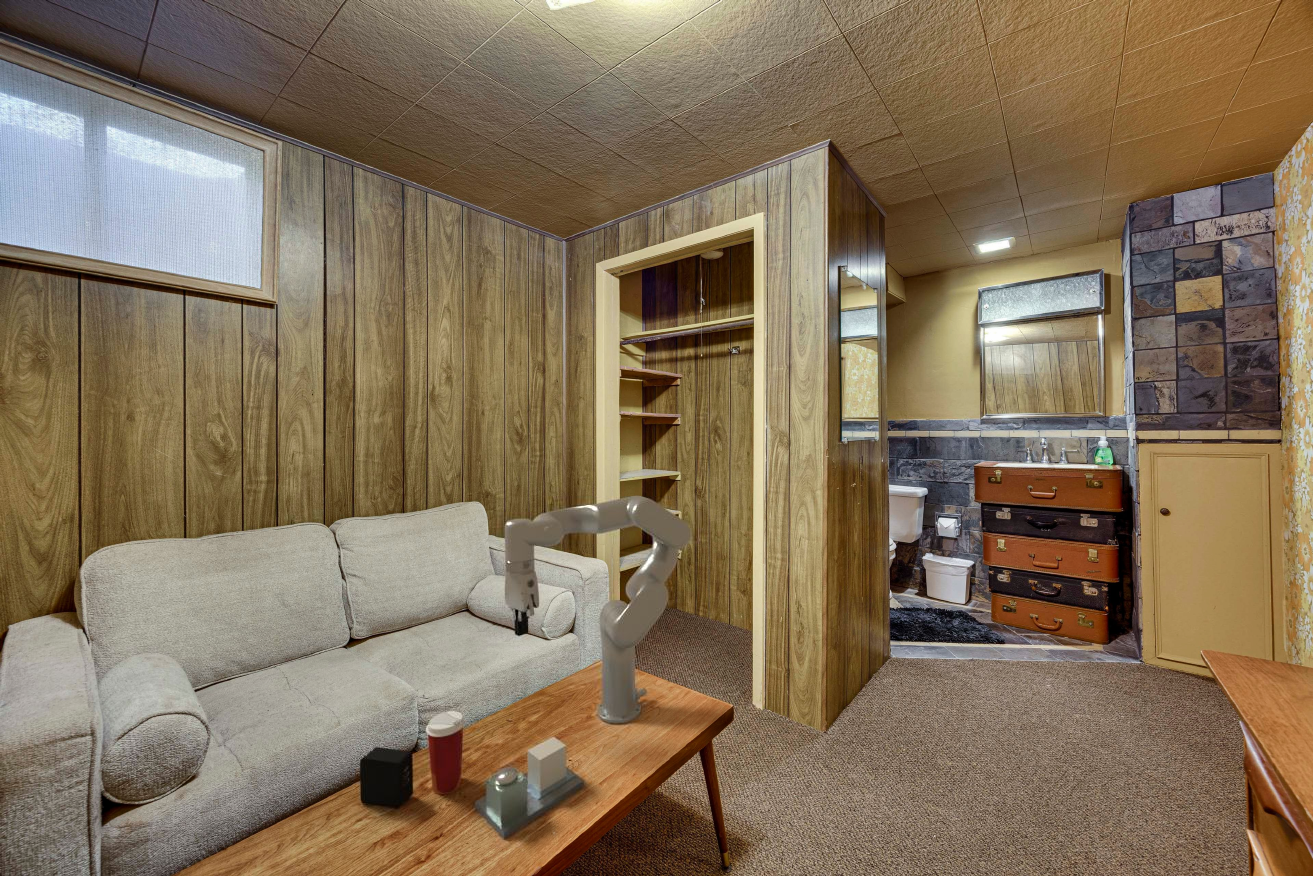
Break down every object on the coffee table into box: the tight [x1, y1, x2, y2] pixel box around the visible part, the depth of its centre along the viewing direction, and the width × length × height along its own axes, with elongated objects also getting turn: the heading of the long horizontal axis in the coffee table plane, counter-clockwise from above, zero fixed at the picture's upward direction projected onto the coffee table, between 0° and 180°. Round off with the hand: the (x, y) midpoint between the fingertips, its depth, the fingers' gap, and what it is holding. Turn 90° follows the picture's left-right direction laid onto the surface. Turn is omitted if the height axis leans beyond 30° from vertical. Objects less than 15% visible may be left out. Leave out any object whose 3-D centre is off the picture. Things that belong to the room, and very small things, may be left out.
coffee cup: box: [425, 710, 466, 795], centre depth 115 cm, size 8×8×15 cm
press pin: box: [494, 766, 518, 786], centre depth 105 cm, size 4×4×6 cm
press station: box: [474, 764, 585, 840], centre depth 110 cm, size 20×12×8 cm, turn 136°
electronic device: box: [359, 746, 414, 810], centre depth 110 cm, size 4×10×10 cm, turn 78°
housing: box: [526, 736, 567, 792], centre depth 114 cm, size 7×5×7 cm
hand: (521, 633), depth 134 cm, fingers closed
